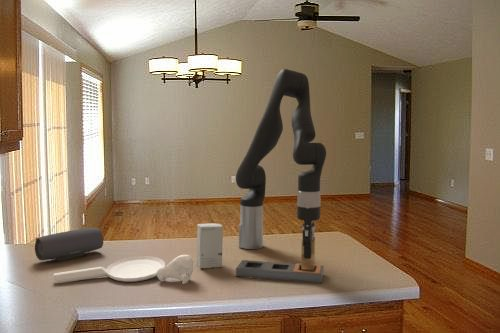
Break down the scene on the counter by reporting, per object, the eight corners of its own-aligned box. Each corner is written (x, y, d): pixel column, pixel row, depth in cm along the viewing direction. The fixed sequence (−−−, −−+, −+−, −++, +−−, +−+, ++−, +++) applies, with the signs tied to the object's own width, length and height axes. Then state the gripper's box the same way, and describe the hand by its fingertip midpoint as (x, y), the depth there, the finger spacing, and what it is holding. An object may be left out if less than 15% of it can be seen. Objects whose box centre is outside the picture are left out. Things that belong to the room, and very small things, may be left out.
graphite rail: (236, 276, 155) (236, 267, 155) (242, 268, 164) (242, 259, 164) (321, 283, 149) (321, 273, 149) (323, 274, 158) (323, 264, 158)
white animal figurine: (191, 257, 147) (153, 261, 147) (194, 283, 148) (156, 287, 148) (193, 251, 153) (156, 255, 153) (195, 277, 154) (159, 280, 154)
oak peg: (301, 269, 153) (301, 239, 152) (302, 265, 157) (303, 236, 156) (313, 270, 152) (314, 240, 151) (314, 266, 156) (315, 237, 155)
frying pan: (54, 300, 141) (52, 285, 140) (55, 276, 158) (54, 263, 157) (170, 280, 153) (170, 267, 152) (160, 260, 170) (159, 248, 169)
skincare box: (199, 269, 163) (199, 227, 162) (196, 264, 169) (196, 223, 167) (223, 267, 166) (223, 225, 164) (219, 262, 171) (219, 222, 170)
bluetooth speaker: (93, 249, 188) (92, 224, 187) (104, 253, 182) (103, 228, 181) (34, 260, 172) (33, 234, 171) (44, 266, 166) (43, 238, 165)
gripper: (299, 200, 160) (299, 249, 162) (294, 207, 146) (294, 261, 148) (321, 201, 159) (321, 251, 160) (318, 208, 145) (318, 263, 146)
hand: (308, 256), depth 154 cm, fingers closed on oak peg, 4 cm apart
